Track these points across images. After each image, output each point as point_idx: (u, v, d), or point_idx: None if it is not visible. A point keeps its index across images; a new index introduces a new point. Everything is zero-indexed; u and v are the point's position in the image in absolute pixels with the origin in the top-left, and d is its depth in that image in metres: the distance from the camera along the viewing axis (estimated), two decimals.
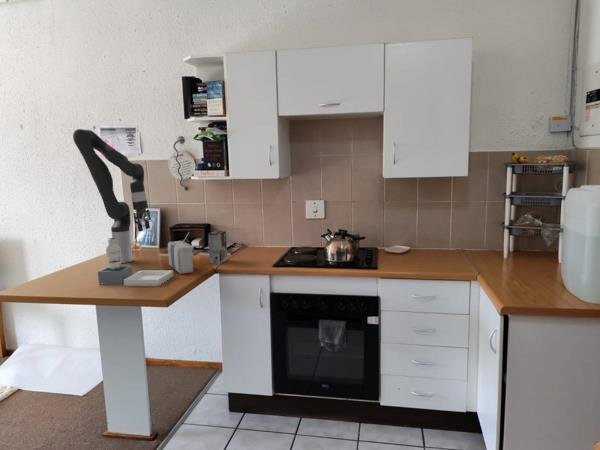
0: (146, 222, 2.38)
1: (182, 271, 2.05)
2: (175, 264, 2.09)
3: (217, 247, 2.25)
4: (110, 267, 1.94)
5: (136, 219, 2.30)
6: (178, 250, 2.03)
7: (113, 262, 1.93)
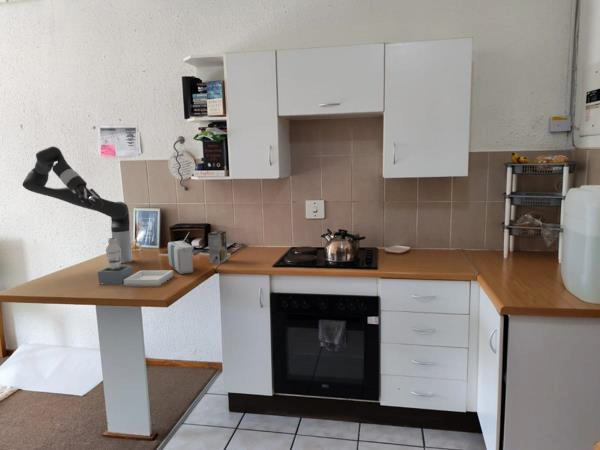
0: (96, 200, 2.02)
1: (182, 271, 2.05)
2: (175, 264, 2.09)
3: (217, 247, 2.25)
4: (110, 267, 1.94)
5: (80, 198, 1.95)
6: (178, 250, 2.03)
7: (113, 262, 1.93)
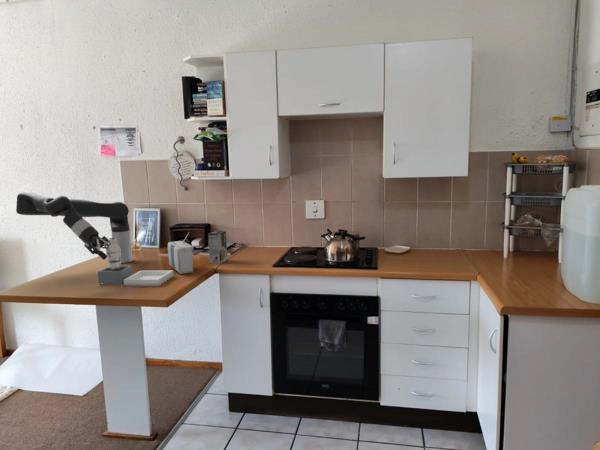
0: None
1: (182, 271, 2.05)
2: (175, 264, 2.09)
3: (217, 247, 2.25)
4: (110, 267, 1.94)
5: (93, 250, 1.91)
6: (178, 250, 2.03)
7: (113, 262, 1.93)
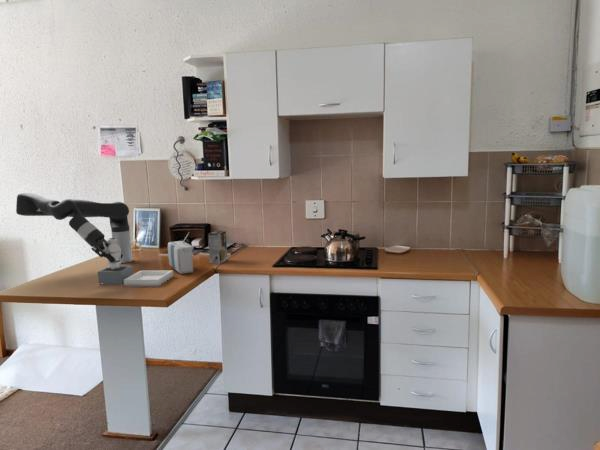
0: None
1: (182, 271, 2.05)
2: (175, 264, 2.09)
3: (217, 247, 2.25)
4: (110, 267, 1.94)
5: (101, 253, 1.92)
6: (178, 250, 2.03)
7: (113, 262, 1.93)
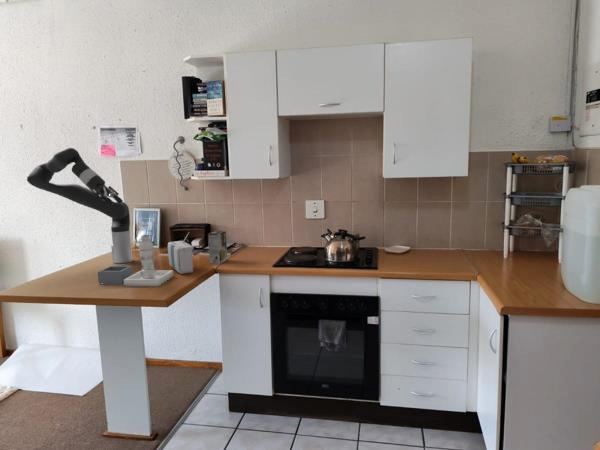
0: (115, 197, 2.12)
1: (182, 271, 2.05)
2: (175, 264, 2.09)
3: (217, 247, 2.25)
4: (143, 264, 1.92)
5: (100, 197, 2.04)
6: (178, 250, 2.03)
7: (146, 259, 1.92)
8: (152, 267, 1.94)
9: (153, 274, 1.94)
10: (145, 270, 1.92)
